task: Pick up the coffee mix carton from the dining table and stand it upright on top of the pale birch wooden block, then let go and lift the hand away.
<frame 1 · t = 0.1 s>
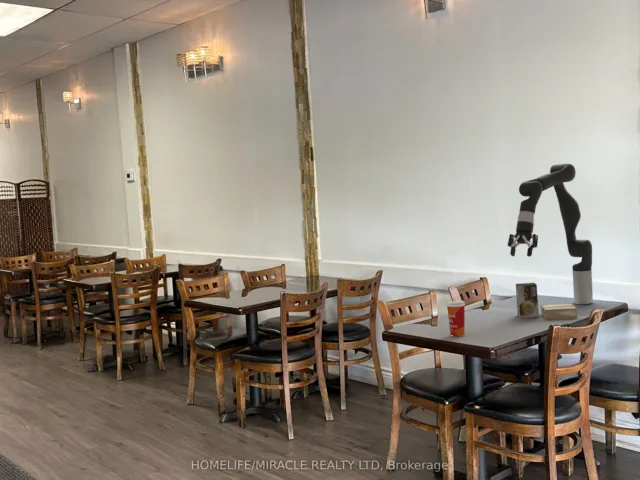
hand: (520, 256, 307), 31 cm above the table, tool tilted 20°, fingers open, 8 cm apart
coffee box: (527, 316, 323), on the table
birch block: (558, 316, 319), on the table
coffee cup: (457, 335, 294), on the table
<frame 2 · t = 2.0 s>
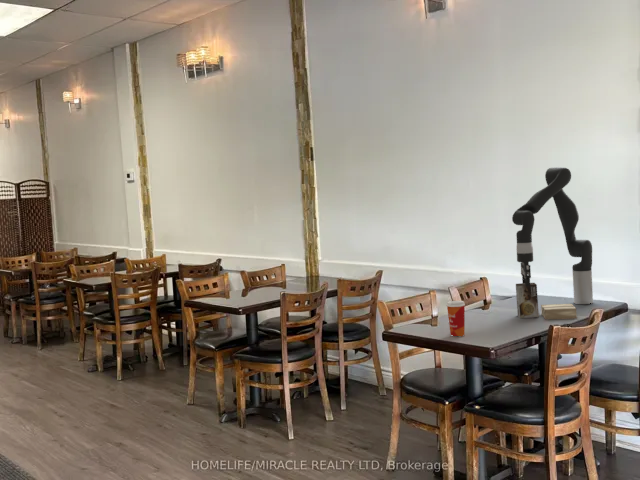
hand: (526, 285, 322), 15 cm above the table, tool pointing down, fingers open, 8 cm apart
nothing on the table moved.
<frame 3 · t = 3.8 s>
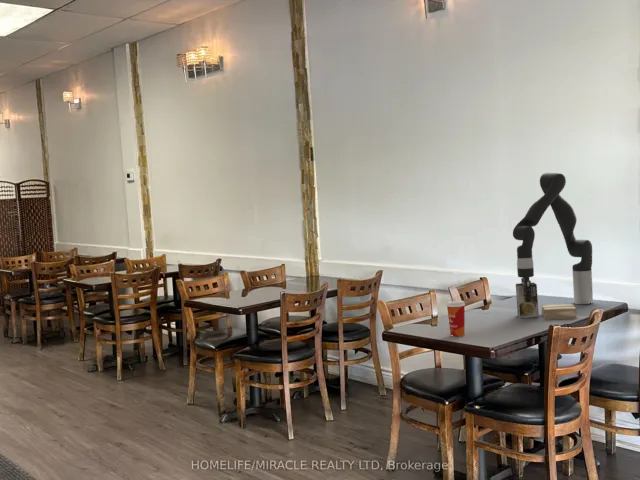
hand: (527, 300, 322), 8 cm above the table, tool pointing down, fingers closed on coffee box, 6 cm apart
coffee box: (527, 316, 323), on the table, touching gripper
everything else where it was.
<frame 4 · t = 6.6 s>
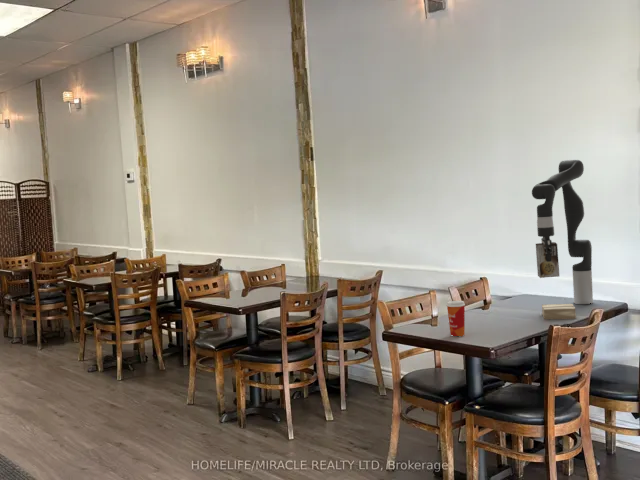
hand: (547, 260, 318), 27 cm above the table, tool pointing down, fingers closed on coffee box, 6 cm apart
coffee box: (548, 276, 319), point 19 cm above the table, touching gripper
everything else where it was.
when the fingers open (14 cm above the table, at t = 9.4 s): coffee box drops 2 cm, resting on birch block.
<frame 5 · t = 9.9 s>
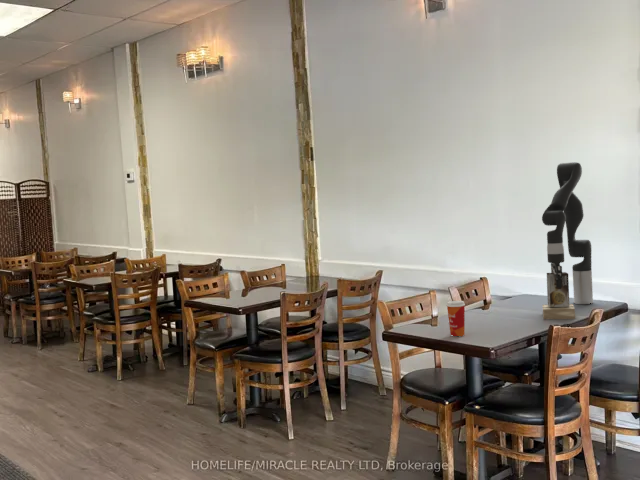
hand: (557, 286, 318), 15 cm above the table, tool pointing down, fingers open, 8 cm apart
coffee box: (558, 306, 318), point 5 cm above the table, touching birch block
birch block: (558, 317, 319), on the table, touching coffee box
everything else where it was.
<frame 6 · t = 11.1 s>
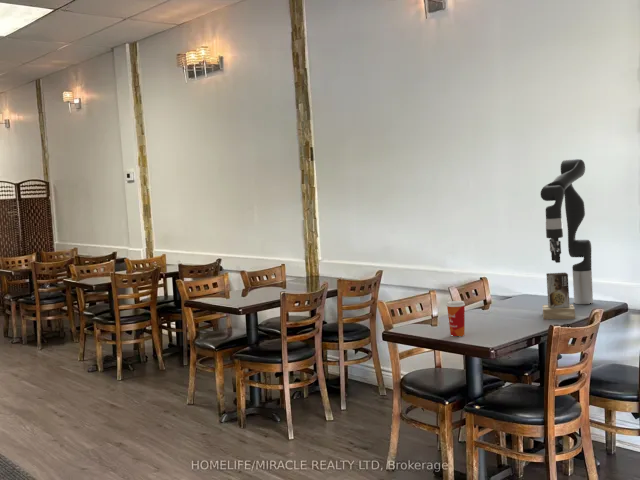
hand: (555, 261, 317), 26 cm above the table, tool pointing down, fingers open, 8 cm apart
nothing on the table moved.
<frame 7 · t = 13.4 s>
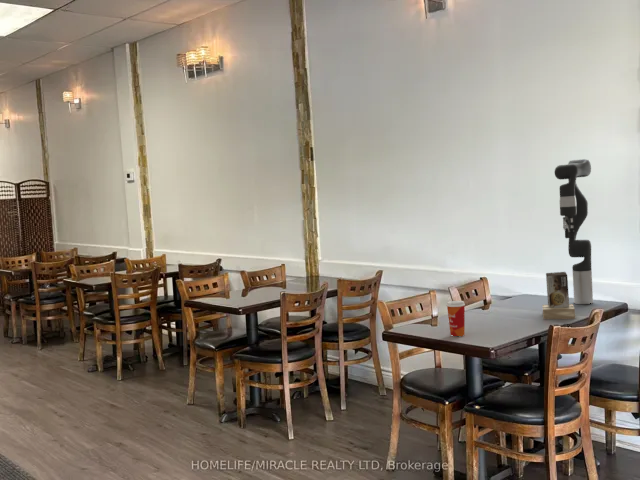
hand: (569, 238, 324), 36 cm above the table, tool pointing down, fingers open, 8 cm apart
at the end: coffee box inside the target area on the birch block (0.2 cm from its centre), point 5.2 cm above the birch block's base; coffee box tilted 7°; the gripper is holding nothing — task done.
